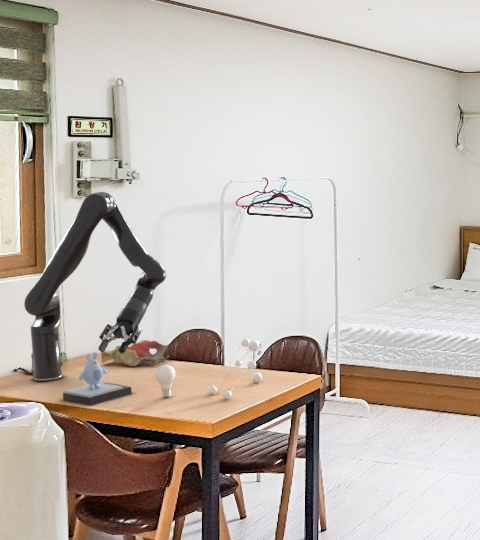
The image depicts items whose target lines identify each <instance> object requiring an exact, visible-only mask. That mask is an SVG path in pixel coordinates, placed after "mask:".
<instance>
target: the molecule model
mask: <svg viewBox="0 0 480 540" xmlns="http://www.w3.org/2000/svg"><path fill="white" fill-rule="evenodd" d="M241 347H244V348H245V349H246V352H247V353H246V354H245V355H244V356H243V357H242V358H241V359H236V360H235V361H234V367H232V368H231V369H230V371H229V372H231V371H232V370H233V369H234V368H235V367H241V366H242V360H243V359H244V358H245V357H246V356H248V360H249V361H248V362H247V363H246V367H247V368H246V369H245V370H244V372H243V373H242V375H240V377H239V379H238V380H237V382H236V383H235V384H234V386H233V387H232V388H231V390H228V389H227V390H224V391H223V392H222V395H221V396H222V398H223V400H229V399H231V398H232V397H233V396H232V395H233V393H232V390H233V389H234V388H235V386H237V384H238V383H239V381H240V379H241V378H242V377H243V375H244V374H245V373H246V371H247V370H248V369H249V370H253V371H254V373H252V374H251V376H250V377H251V381H252V383H255V384H258V383H260V382H262V380H263V376H262V375H263V374H262V373H260V372H257V362H256V361H255V360H256V355H255V354H253V357H254V360H253V358H252V355H251V352H256V351H258V350H259V349H260V343H259V341H257V340H250V339H249V338H243V339H242V340H241V345H240V346H239V348H238V349H237V351H236V353H235V355H234V356H233V358H232V359H231V361H230V363H229V364H228V366H227V367H226V369H225V371H224V372H223V374H222V376H221V377H220V379H219V381H218V382H217V384H216V385H210V386H209V387H208V388H207V392H208V393H209V394H210V395H215V394H217V392H218V388H217V386H218V385H219V384H220V381H222V379H223V378H224V376H225V373H226V372H227V370H228V369H229V367H230V365H231V363H232V362H233V360H234V358H235V357H236V355H237V354H238V352H239V351H240V349H241Z"/></svg>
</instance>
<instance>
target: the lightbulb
mask: <svg viewBox="0 0 480 540" xmlns="http://www.w3.org/2000/svg"><path fill="white" fill-rule="evenodd" d="M154 374H155V379H156V381H157V382H158V384H159V385H160V388H161V392H162V394H161V395H162V397H163V398H169V397H171V396H172V391H171V390H172V384H173V382H174V381H175V378H176V374H177V373H176V370H175V368H174V367H173V366H171V365H169V364H163V365H160V366H158V368H157V369H156V371H155V373H154Z"/></svg>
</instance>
